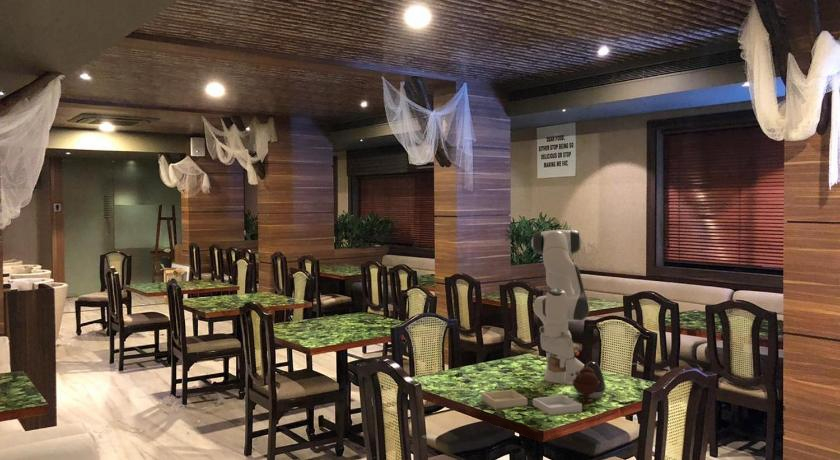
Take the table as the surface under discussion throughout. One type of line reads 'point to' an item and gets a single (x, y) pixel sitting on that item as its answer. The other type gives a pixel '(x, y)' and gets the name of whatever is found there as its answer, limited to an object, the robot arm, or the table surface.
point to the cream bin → (503, 399)
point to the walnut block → (555, 365)
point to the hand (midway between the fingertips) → (557, 365)
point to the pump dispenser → (599, 375)
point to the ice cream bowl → (586, 383)
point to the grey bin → (557, 405)
